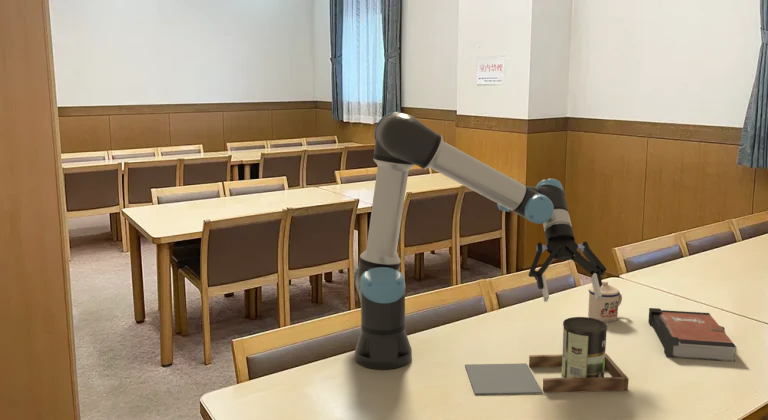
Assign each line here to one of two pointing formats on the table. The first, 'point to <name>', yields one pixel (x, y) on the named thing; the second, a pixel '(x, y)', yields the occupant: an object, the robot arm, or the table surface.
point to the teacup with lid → (604, 303)
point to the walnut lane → (580, 384)
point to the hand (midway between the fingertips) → (572, 298)
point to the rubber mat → (502, 379)
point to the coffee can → (583, 348)
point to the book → (691, 335)
